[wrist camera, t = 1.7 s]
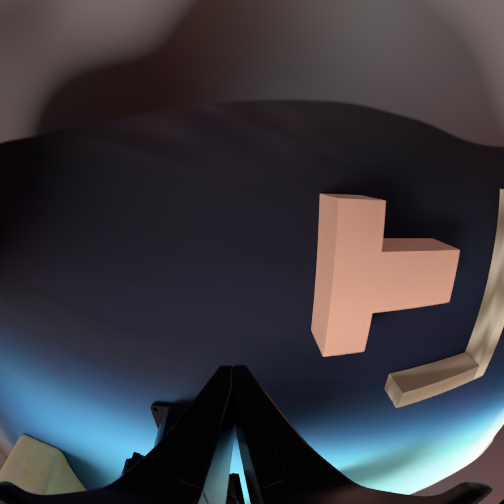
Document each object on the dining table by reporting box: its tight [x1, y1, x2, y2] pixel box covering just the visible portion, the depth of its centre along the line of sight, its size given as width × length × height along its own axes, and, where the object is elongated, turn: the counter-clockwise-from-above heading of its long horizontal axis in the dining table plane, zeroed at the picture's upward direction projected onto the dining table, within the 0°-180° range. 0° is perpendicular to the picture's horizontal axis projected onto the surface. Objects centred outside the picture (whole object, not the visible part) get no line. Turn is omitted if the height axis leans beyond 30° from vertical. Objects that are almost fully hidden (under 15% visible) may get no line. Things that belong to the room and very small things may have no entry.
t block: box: [311, 194, 460, 357], centre depth 17 cm, size 10×10×4 cm
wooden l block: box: [384, 189, 504, 408], centre depth 19 cm, size 20×13×3 cm, turn 0°
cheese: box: [0, 434, 86, 495], centre depth 21 cm, size 22×10×15 cm, turn 179°
